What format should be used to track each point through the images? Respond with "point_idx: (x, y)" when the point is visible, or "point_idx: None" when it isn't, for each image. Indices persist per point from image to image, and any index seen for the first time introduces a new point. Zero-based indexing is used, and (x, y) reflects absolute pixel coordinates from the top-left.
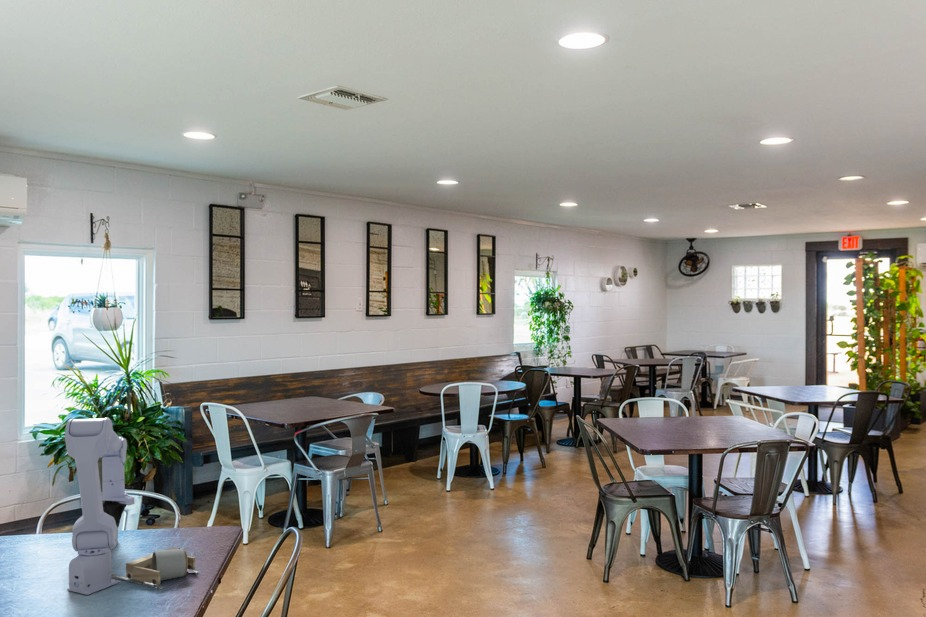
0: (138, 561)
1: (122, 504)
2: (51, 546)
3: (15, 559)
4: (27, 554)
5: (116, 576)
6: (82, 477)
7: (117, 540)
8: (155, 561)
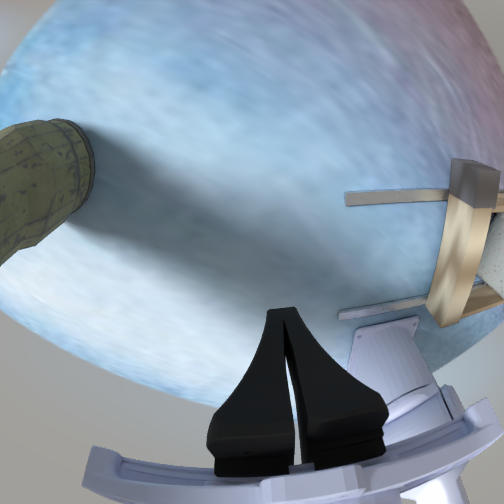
0: (461, 304)
1: (378, 428)
2: (16, 264)
3: (66, 342)
4: (45, 317)
5: (393, 307)
6: None
7: (69, 122)
8: (484, 268)
